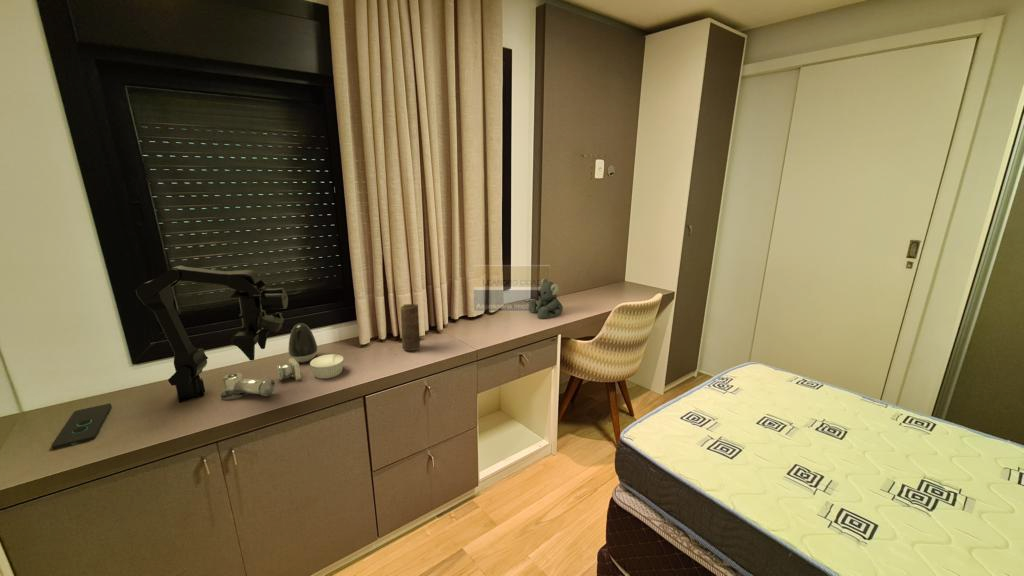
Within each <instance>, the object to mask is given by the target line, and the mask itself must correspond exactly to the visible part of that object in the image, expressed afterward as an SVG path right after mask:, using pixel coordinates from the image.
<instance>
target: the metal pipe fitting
mask: <svg viewBox="0 0 1024 576" xmlns="http://www.w3.org/2000/svg"><path fill="white" fill-rule="evenodd" d="M300 370H301V369H300V363H299V362H297V361H296V360H295V359H294V358H291V357H290V358H288V363H285V364H283V365H281V364H276V373H277V376H278V379H279V381H283V380H284V379H285V378H288V377H293V378H294V379H295V381H300V380H302V378H301V377H302V376H301V371H300ZM248 394H249V393H239V394H236V395H226V392H225V390H224V391H222V392H221V394H220V398H221V400H224V401H233V400H238V399H241V398H243V397H246V396H247V395H248Z"/></svg>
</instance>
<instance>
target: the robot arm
mask: <svg viewBox="0 0 1024 576" xmlns="http://www.w3.org/2000/svg"><path fill="white" fill-rule="evenodd" d="M180 282H189V283H190V282H192V283H201V284H209V285H217V286H218V285H219V286H223V287H227V288H229V289H232V290H234V292H233V294H231V295H230V296H229V297H230V298H231V299H238V301H239V307H240V309H239V310H240V314H239V315H238V319H241V322H242V326H240V331H238V332H237V333H236V334H235V335H233V336H232V338H230V342H231V345H232V346H234V347H237V348H238V349H239V350H240V351H241V352H242V353H243V354H244V355H245V356H246V358H248V360H249V361H255V351H256V345H257V344H258V346H259V348H260V350H265V349H266V347H267V346H266V345H267V338H268V334H269V332H270V331H271V332H274V333H277V332H279V331H280V330H281V329H282V327H283V323H284V322H285V320H284V319H285V318H284V317H283V313H281V312H276V313H274V315H273V314H270V315H269V314H267V312H266V310H282V309H283V310H285V309H287V308H288V305H289V296H288V295H287V292H286V291H285V288H284V287H278V288H270V287H269V286H268V285H267V284H266V282H265V281H263V279H261V277H260V274H259V273H258V272H257V271H255V270H252V269H243V270H242V269H241V270H240V269H239V270H231V271H229V270H228V271H225V270H216V269H206V268H200V267H199V268H197V267H191V266H185V265H176V266H174V267H171V268H169V269H168V270H167V271H165V272H164V273H162V274H160V275H159V276H158V277H156V278H154V279H151V280H148V281H146V282H144V283H141V284H139V285H138V286H137V288H136V289H135V293H136V294H135V295H136V296H137V297H138V300H140V301H141V303H142V304H143V306H145V307H147V308H148V309H149V310H151V311H153V313H154V315H155V317H156V319H157V321H158V323H159V325H160V327H161V329H162V331H163V333H164V335H165V337H166V339H167V341H168V342H169V345H170V347H171V349H172V351H173V354H174V356H173V365H174V371H175V372H174V373H173V375H171V376H170V377H169V378H168V380H167V381H168V383H169V384H170V386H175V389H176V390H175V391H176V393H177V394H176V397H177V401H178V403H183V402H187V401H191V400H194V399H198V398H201V397H204V396H205V392H206V388H205V384H204V380H203V378H202V377H201V376H200V374H201V373H202V372H203V369H204V368H206V366H207V364H208V359H209V357H208V356H207V355H206V353H205V350H204V348H203V347H200V348H197V347H195V346H194V345H193V344H192V342H191V341H192V340H190V337H189V335H188V332H187V331H186V329H185V327H184V325H183V323H182V321H181V319H180V316H179V315H178V312H177V310H176V308H175V306H174V298H175V296H174V295H175V293H174V290H173V287H175V286H176V285H178V284H179V283H180Z"/></svg>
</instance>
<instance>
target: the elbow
mask: <svg viewBox="0 0 1024 576" xmlns="http://www.w3.org/2000/svg"><path fill="white" fill-rule="evenodd" d="M222 380H223V386H224V391H225V392H226V395H236V394H239V393H248V394H254V395H255V394H257V395H260V396H263V397H269V396H271V395H272V394H273V393H274V391H275V389H276V382H275V380H274V379H271V378H265V379H250V378H244V376H243V373H242V372H233V373H229V374H226V375H224V376H223V377H222Z"/></svg>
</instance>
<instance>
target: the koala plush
mask: <svg viewBox="0 0 1024 576" xmlns="http://www.w3.org/2000/svg"><path fill="white" fill-rule="evenodd" d="M540 283H541V286H540V288H539V290H538V292H537V296H538V297H539V298H540V300H539V302H538V303H537V301H536V300H534V299H530V301H529V304H528V311H529V312H530V313H532V314H537V318H538V319H540V320H541V319H543V320H544V319H545V320H547V319H550V318H555V317H558V316H559V315H560V314H561V313H562V312H563V310H564V309H563V308H564V305H562V303H561V302H560V300H558V296H557V295H558V294H560V287H559V284H557V283H554V282H553V281H550V280H547V279H546V278H544V277H543V279H541V282H540Z"/></svg>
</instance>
